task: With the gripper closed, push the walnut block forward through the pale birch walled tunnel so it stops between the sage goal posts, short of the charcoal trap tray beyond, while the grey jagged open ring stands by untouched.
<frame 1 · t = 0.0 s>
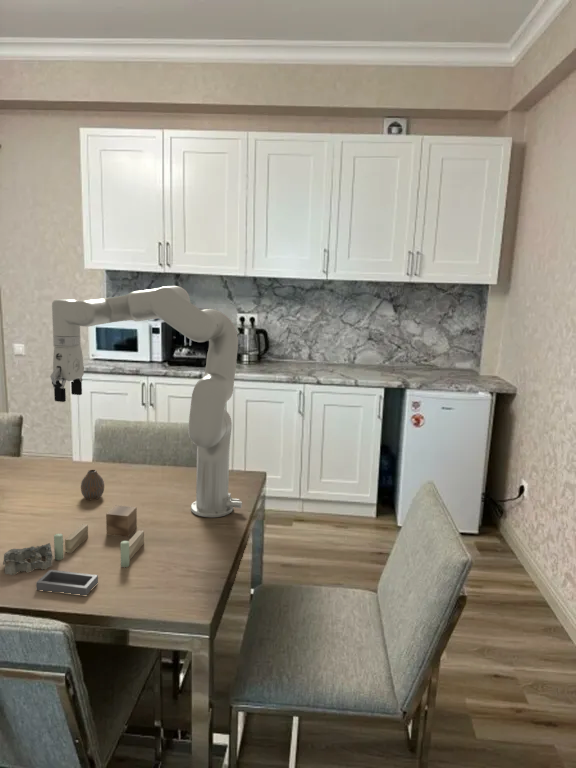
hand: (68, 397, 173), 31 cm above the table, fingers open, 9 cm apart
goal posts: (91, 561, 140), on the table
grey jagged open ring: (28, 566, 137), on the table
tunnel: (105, 547, 147), on the table
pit: (67, 586, 129), on the table
walnut block: (121, 531, 157), on the table
vase: (92, 498, 178), on the table
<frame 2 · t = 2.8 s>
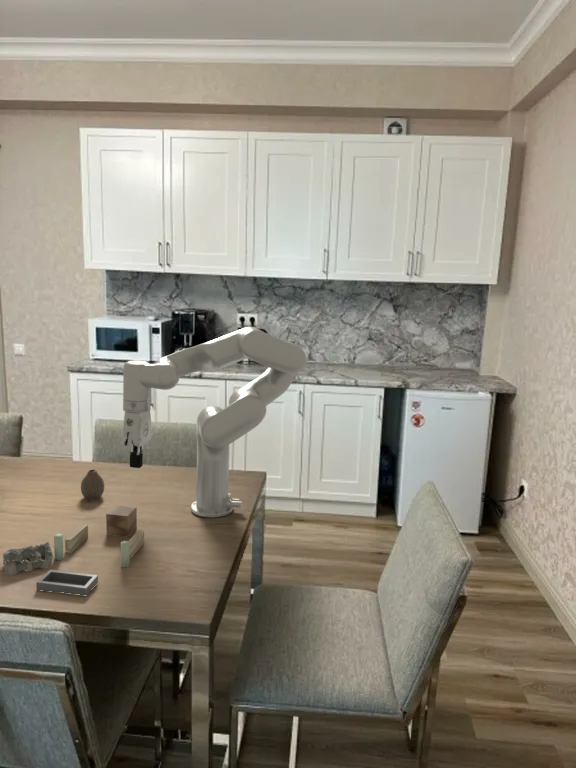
hand: (136, 466, 165), 14 cm above the table, fingers closed
nothing on the table moved.
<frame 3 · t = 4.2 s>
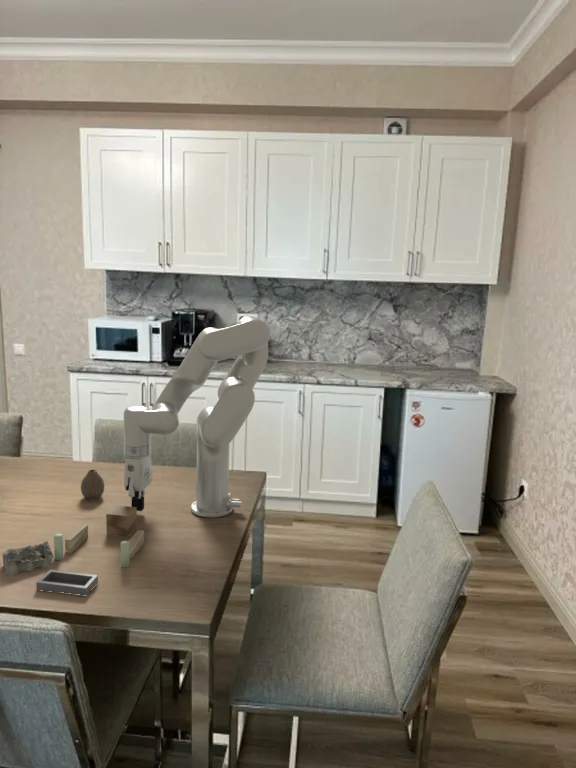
hand: (137, 509, 168), 1 cm above the table, fingers closed
nothing on the table moved.
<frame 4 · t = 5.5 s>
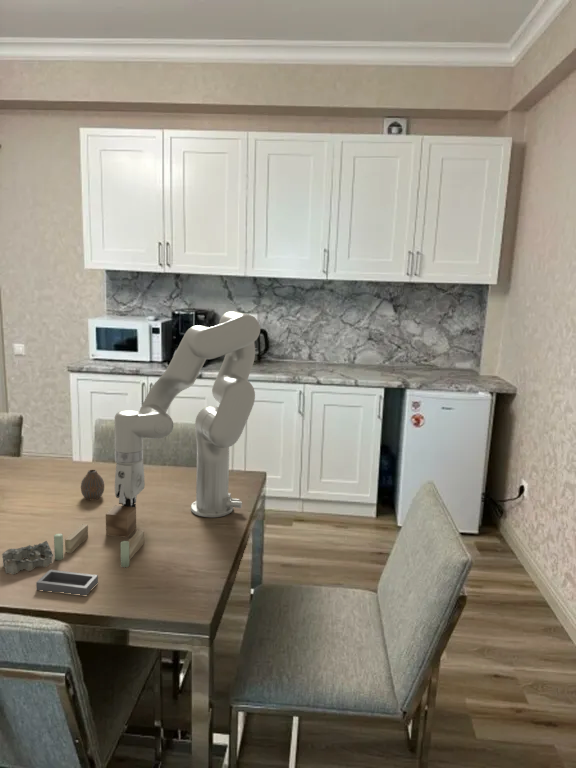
hand: (129, 517, 162), 1 cm above the table, fingers closed
walnut block: (121, 531, 157), on the table, touching gripper
everything else where it was.
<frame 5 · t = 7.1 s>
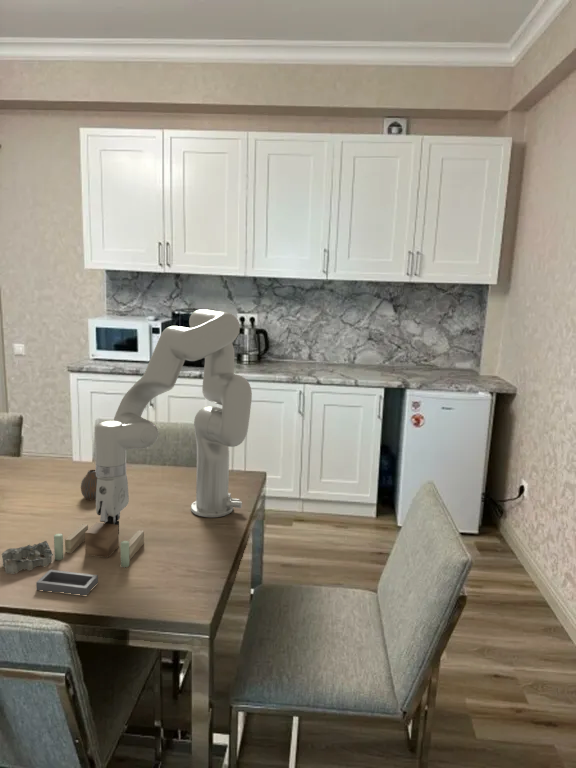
hand: (112, 535, 151), 1 cm above the table, fingers closed
walnut block: (102, 550, 146), on the table, touching gripper
everything else where it was.
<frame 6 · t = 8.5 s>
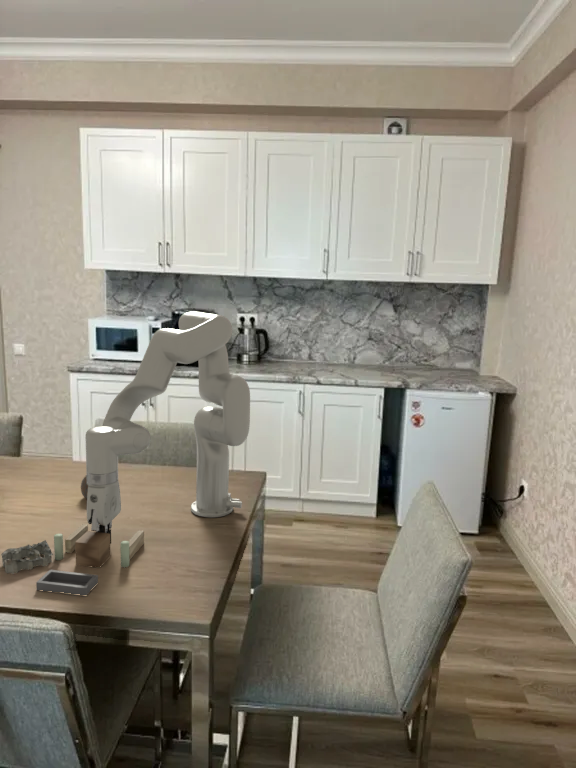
hand: (104, 544, 146), 1 cm above the table, fingers closed
walnut block: (93, 560, 141), on the table, touching gripper
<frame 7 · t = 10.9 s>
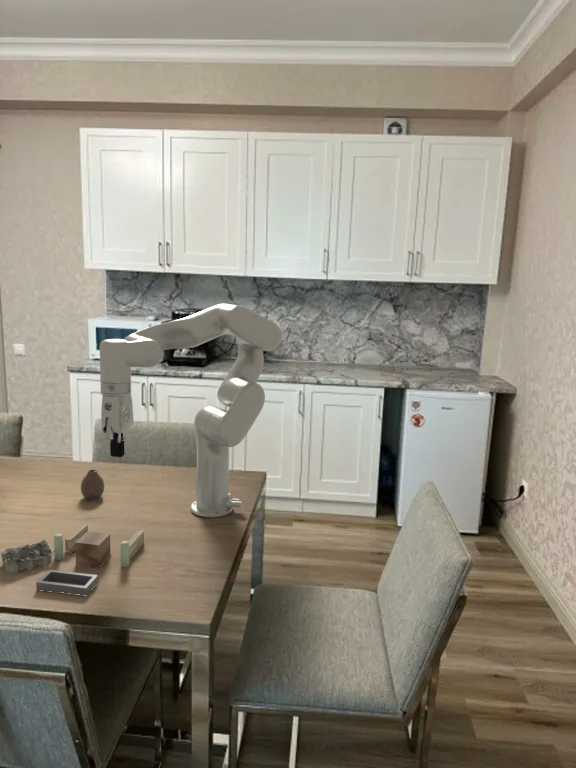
hand: (117, 455, 151), 22 cm above the table, fingers closed
walnut block: (93, 560, 141), on the table
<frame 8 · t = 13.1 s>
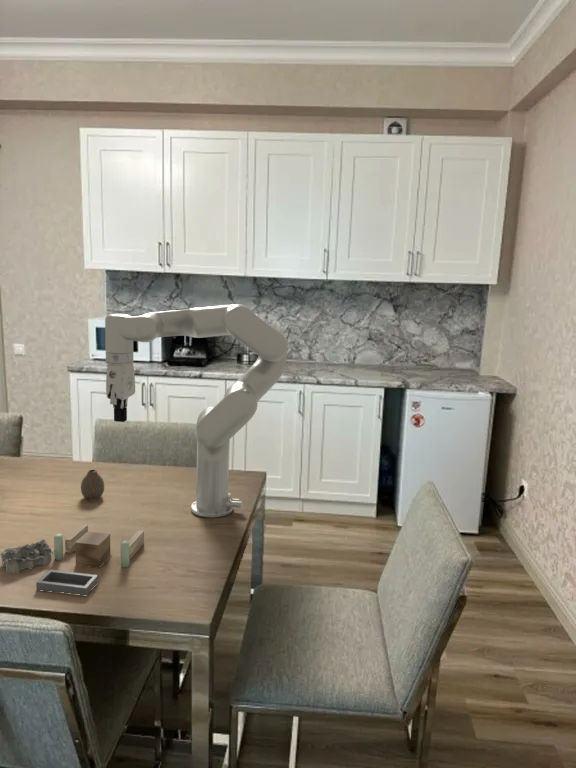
hand: (120, 420, 166), 27 cm above the table, fingers closed
at the end: walnut block inside the target area (1.2 cm from its centre), on the table; walnut block touching table; walnut block tilted 0° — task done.
